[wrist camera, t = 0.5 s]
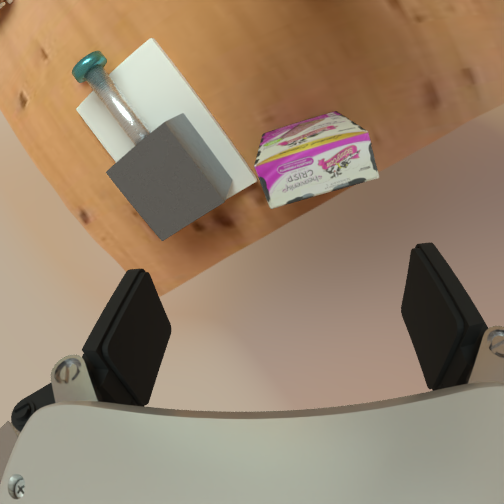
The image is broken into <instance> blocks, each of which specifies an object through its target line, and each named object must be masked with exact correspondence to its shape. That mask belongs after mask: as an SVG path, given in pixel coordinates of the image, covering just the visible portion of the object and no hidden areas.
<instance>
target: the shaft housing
mask: <svg viewBox="0 0 504 504" xmlns="http://www.w3.org/2000/svg"><path fill="white" fill-rule="evenodd" d="M106 173H107V175H108V176H109V177H110V178H111V180H112V181H113V182H114V183H115V185H116V186H117V187H118V188H119V190H120V191H121V192H122V193H123V195H124V196H125V197H126V198H127V200H128V201H129V202H130V203H131V205H132V206H133V207H134V208H135V209H136V211H137V212H138V213H139V214H140V216H141V217H142V218H143V219H144V220H145V222H146V223H147V224H148V225H149V226H150V228H151V229H152V230H153V231H154V232H155V233H156V235H157V236H158V237H159V238H160V239H161V240H162V241H164V240H165V239H167V238H168V237H170V236H171V235H173V234H174V233H176V232H178V231H179V230H181V229H182V228H184V227H185V226H187V225H189V224H190V223H192V222H193V221H195V220H197V219H198V218H200V217H201V216H203V215H205V214H206V213H208V212H209V211H211V210H213V209H214V208H216V207H218V206H219V205H221V204H222V203H224V202H225V199H226V197H227V194H228V191H229V188H230V186H231V183H232V178H231V177H230V176H229V174H228V173H227V172H226V170H225V169H224V167H223V166H222V165H221V163H220V162H219V161H218V159H217V158H216V156H215V155H214V154H213V152H212V151H211V150H210V148H209V147H208V146H207V144H206V143H205V141H204V140H203V139H202V137H201V136H200V135H199V133H198V132H197V131H196V129H195V128H194V127H193V125H192V124H191V123H190V121H189V120H188V119H187V117H186V116H185V114H184V113H182V114H180V115H178V116H175V117H173V118H171V119H169V120H167V121H165V122H164V123H162V124H161V125H160V126H159V127H157V128H156V129H155V130H154V131H152V132H151V133H150V134H149V135H148V136H146V137H145V138H144V139H143V140H142V141H140V142H139V143H138V144H137V145H136V146H135V147H133V148H132V149H131V150H130V151H129V152H128V153H126V154H125V155H124V156H123V157H122V158H121V159H120V160H119V161H118V162H116V163H115V164H114V165H113V166H112V167H111V168H110V169H109V170H108V171H107V172H106Z"/></svg>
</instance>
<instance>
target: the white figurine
mask: <svg viewBox="0 0 504 504" xmlns="http://www.w3.org/2000/svg"><path fill="white" fill-rule="evenodd" d="M7 2H8V3H9V4H11V3H12V2H13V0H7ZM4 5H5V2H2V3H0V9H1V8H2V7H3V6H4Z"/></svg>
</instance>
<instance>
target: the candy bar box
mask: <svg viewBox="0 0 504 504" xmlns="http://www.w3.org/2000/svg"><path fill="white" fill-rule="evenodd" d="M254 167H255V169H256V172H257V174H258V177H259V180H260V183H261V185H262V188H263V191H264V193H265V196H266V199H267V202H268V204H269V207H270V208H271V209H273V208H276V207H280V206H283V205H286V204H290V203H293V202H297V201H300V200H304V199H307V198H310V197H314V196H317V195H321V194H324V193H328V192H331V191H335V190H339V189H342V188H345V187H349V186H352V185H356V184H360V183H363V182H367V181H370V180H373V179H377V178H379V174H378V171H377V166H376V163H375V158H374V154H373V150H372V147H371V141H370V137H369V134H368V131H366V130H365V129H363V128H362V127H360V126H359V125H357V124H356V123H354V122H353V121H351V120H349V119H348V118H346V117H345V116H343V115H341V114H340V113H338V112H337V111H335V112H331V113H328V114H325V115H321V116H318V117H314V118H311V119H308V120H305V121H301V122H298V123H295V124H292V125H288V126H285V127H282V128H279V129H276V130H273V131H270V132H267V133H264V134H263V135H262V139H261V143H260V146H259V150H258V154H257V157H256V161H255V165H254Z"/></svg>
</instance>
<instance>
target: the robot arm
mask: <svg viewBox="0 0 504 504" xmlns="http://www.w3.org/2000/svg"><path fill="white" fill-rule="evenodd" d="M401 313H402V316H403V319H404V322H405V324H406V327H407V330H408V332H409V335H410V337H411V340H412V343H413V345H414V348H415V351H416V354H417V357H418V360H419V363H420V365H421V368H422V371H423V374H424V377H425V381H426V384H427V386H428V388H429V389H432V390H433V391H430V392H426V393H421V394H416V395H410V396H405V397H399V398H394V399H388V400H382V401H376V402H370V403H363V404H355V405H347V406H338V407H329V408H318V409H306V410H291V411H266V412H215V411H189V410H175V409H162V408H152V407H144V405H147V404H148V403H149V400H150V397H151V393H152V390H153V387H154V384H155V380H156V377H157V374H158V371H159V368H160V365H161V362H162V359H163V356H164V353H165V350H166V347H167V343H168V340H169V338H170V335H171V325H170V322H169V320H168V318H167V315H166V313H165V311H164V308H163V306H162V303H161V301H160V299H159V296H158V294H157V291H156V289H155V286H154V284H153V281H152V279H151V276H150V274H149V273H148V272H145V270H144V269H131V270H128V271H127V272H126V274H125V275H124V277H123V278H122V280H121V282H120V283H119V285H118V287H117V288H116V290H115V292H114V293H113V295H112V297H111V298H110V300H109V302H108V303H107V305H106V307H105V309H104V310H103V312H102V314H101V316H100V317H99V319H98V321H97V323H96V324H95V326H94V328H93V330H92V332H91V334H90V335H89V337H88V339H87V341H86V343H85V345H84V346H83V349H82V351H83V352H84V354H83V356H82V357H80V356H79V355H69V356H66V357H64V358H62V359H61V360H60V361H58V362H57V364H56V365H55V366H54V368H53V369H52V372H51V383H50V384H48V385H46V386H45V387H43V388H41V389H40V390H38V391H36V392H35V393H33V394H31V395H30V396H28V397H26V398H24V399H23V400H21V401H20V402H19V403H18V404H17V405H16V406H15V407H14V410H13V412H12V416H11V420H12V422H11V423H10V422H9V421H7V422H6V423H5V424H4V425H3V426H2V427H1V428H0V504H504V327H502V326H493V327H490V328H489V329H488V327H487V325H486V324H485V322H484V320H483V318H482V317H481V315H480V313H479V312H478V310H477V308H476V307H475V305H474V303H473V302H472V300H471V298H470V297H469V295H468V294H467V292H466V290H465V289H464V287H463V286H462V284H461V283H460V281H459V280H458V278H457V277H456V275H455V274H454V272H453V271H452V269H451V268H450V266H449V265H448V264H447V262H446V261H445V259H444V258H443V256H442V255H441V254H440V252H439V251H438V249H437V248H436V247H435V245H434V244H433V243H422V244H417V245H416V247H415V248H414V249H412V250H411V255H410V262H409V268H408V274H407V280H406V286H405V291H404V296H403V301H402V307H401Z"/></svg>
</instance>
